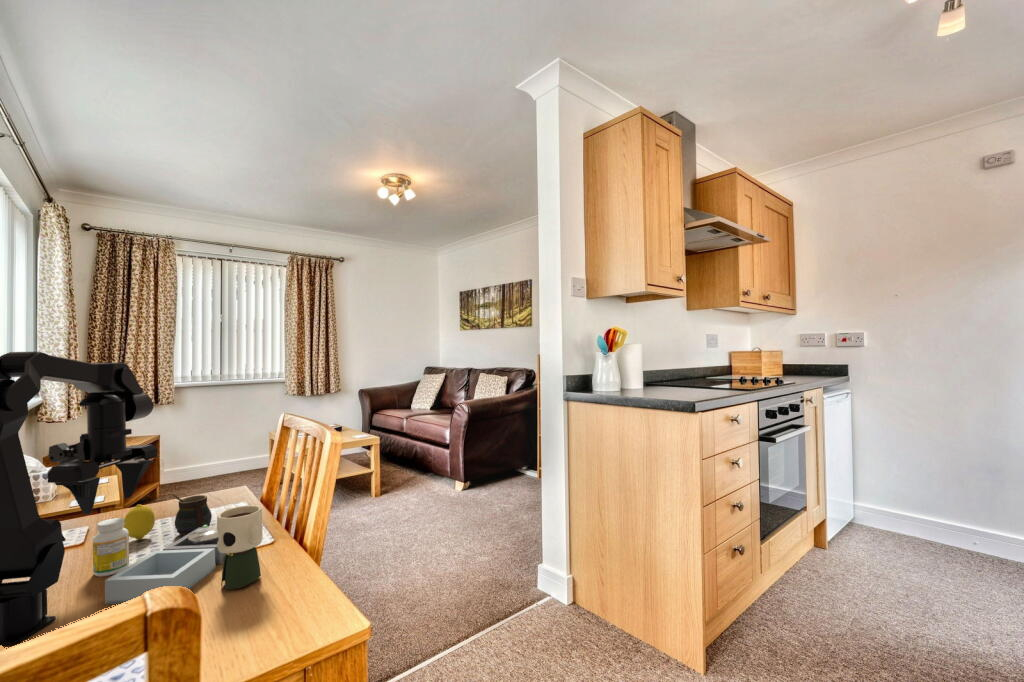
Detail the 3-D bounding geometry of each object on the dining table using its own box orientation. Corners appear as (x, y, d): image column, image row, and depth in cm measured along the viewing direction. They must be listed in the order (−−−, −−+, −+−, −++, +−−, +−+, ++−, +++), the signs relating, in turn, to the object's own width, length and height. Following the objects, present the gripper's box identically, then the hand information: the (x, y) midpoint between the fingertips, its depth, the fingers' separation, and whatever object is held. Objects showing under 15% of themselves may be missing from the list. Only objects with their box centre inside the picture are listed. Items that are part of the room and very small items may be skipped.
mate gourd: (218, 530, 110) (217, 488, 110) (182, 542, 103) (181, 497, 103) (203, 524, 113) (202, 484, 114) (167, 535, 107) (166, 492, 107)
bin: (174, 601, 78) (173, 577, 78) (105, 604, 78) (104, 580, 78) (215, 568, 90) (214, 548, 90) (155, 571, 89) (154, 550, 89)
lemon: (128, 537, 106) (127, 503, 106) (158, 533, 109) (157, 499, 109) (120, 547, 101) (119, 510, 101) (151, 541, 104) (150, 506, 104)
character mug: (205, 584, 84) (203, 512, 84) (245, 568, 90) (243, 500, 90) (236, 600, 78) (235, 523, 78) (277, 581, 84) (275, 510, 84)
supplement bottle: (121, 574, 88) (120, 524, 89) (86, 579, 87) (85, 528, 87) (134, 562, 94) (133, 514, 94) (102, 566, 92) (101, 518, 92)
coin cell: (215, 549, 93) (215, 538, 93) (180, 550, 93) (180, 539, 93) (235, 534, 100) (235, 524, 100) (202, 536, 100) (202, 526, 100)
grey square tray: (219, 564, 91) (219, 543, 91) (163, 567, 91) (162, 545, 91) (249, 541, 102) (249, 522, 102) (199, 543, 102) (198, 524, 102)
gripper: (106, 419, 100) (108, 491, 100) (15, 437, 82) (16, 525, 81) (158, 418, 100) (159, 490, 100) (78, 435, 82) (80, 523, 82)
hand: (108, 505), depth 91 cm, fingers open, 9 cm apart
